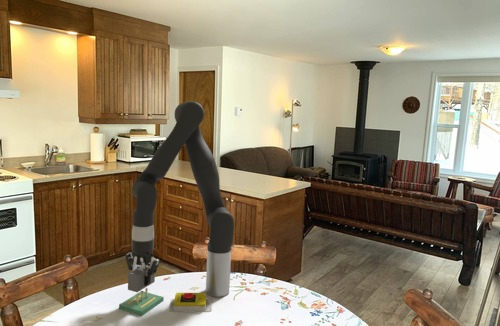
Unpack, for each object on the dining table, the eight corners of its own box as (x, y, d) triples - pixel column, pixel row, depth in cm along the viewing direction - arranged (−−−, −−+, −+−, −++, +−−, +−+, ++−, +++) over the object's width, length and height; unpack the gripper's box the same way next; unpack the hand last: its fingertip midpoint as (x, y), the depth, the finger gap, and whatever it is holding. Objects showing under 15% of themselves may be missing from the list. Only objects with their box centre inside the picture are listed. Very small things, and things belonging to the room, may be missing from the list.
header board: (141, 294, 141) (141, 282, 141) (163, 300, 138) (163, 287, 137) (119, 308, 130) (119, 295, 130) (142, 315, 127) (142, 301, 126)
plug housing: (145, 279, 138) (146, 264, 138) (154, 281, 137) (155, 266, 136) (127, 289, 130) (128, 273, 129) (137, 292, 128) (137, 275, 127)
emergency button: (171, 289, 139) (212, 289, 140) (171, 300, 139) (211, 300, 141) (168, 301, 130) (212, 301, 131) (168, 313, 130) (211, 313, 132)
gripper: (166, 237, 132) (164, 284, 134) (134, 230, 137) (132, 275, 139) (152, 243, 125) (151, 292, 127) (119, 236, 130) (118, 283, 132)
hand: (141, 283), depth 133 cm, fingers closed on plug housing, 4 cm apart
